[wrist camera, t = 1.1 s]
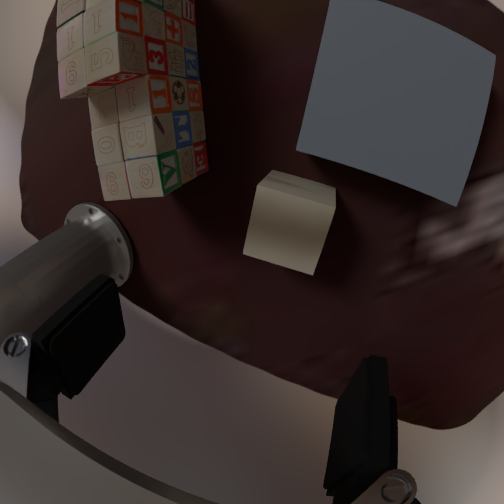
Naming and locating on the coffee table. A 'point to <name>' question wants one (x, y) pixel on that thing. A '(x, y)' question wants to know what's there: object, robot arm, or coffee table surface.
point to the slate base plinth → (397, 97)
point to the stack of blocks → (136, 90)
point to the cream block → (290, 221)
